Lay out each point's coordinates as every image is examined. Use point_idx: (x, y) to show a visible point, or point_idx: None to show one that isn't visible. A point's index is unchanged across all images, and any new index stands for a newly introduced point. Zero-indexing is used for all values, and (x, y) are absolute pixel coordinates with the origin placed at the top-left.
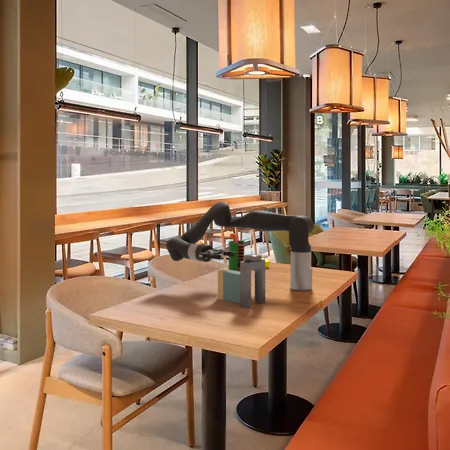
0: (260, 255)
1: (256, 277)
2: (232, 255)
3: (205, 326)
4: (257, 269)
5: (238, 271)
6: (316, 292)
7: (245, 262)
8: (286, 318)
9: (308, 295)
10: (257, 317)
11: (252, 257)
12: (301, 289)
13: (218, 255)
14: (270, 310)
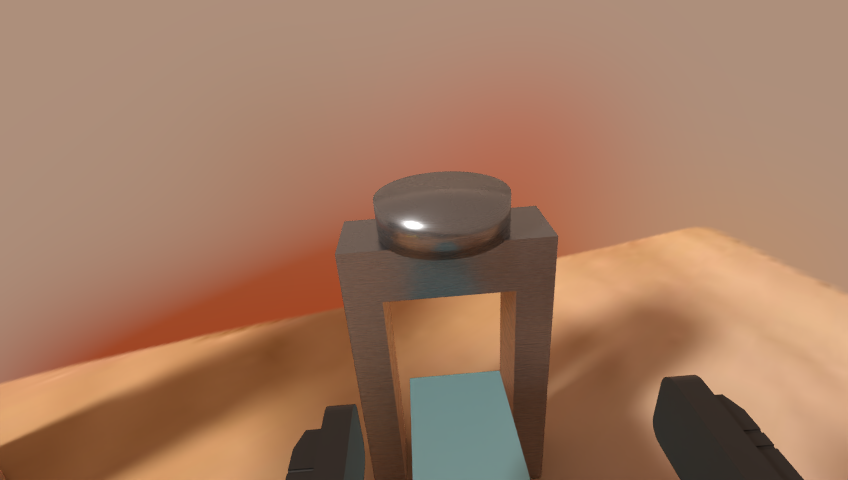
0: (398, 183)
1: (391, 358)
2: (360, 466)
3: (840, 361)
4: (386, 304)
5: (415, 472)
6: (45, 414)
7: (538, 215)
8: None
9: (128, 403)
10: (571, 332)
11: (488, 178)
12: (2, 477)
13: (714, 395)
14: (465, 357)
